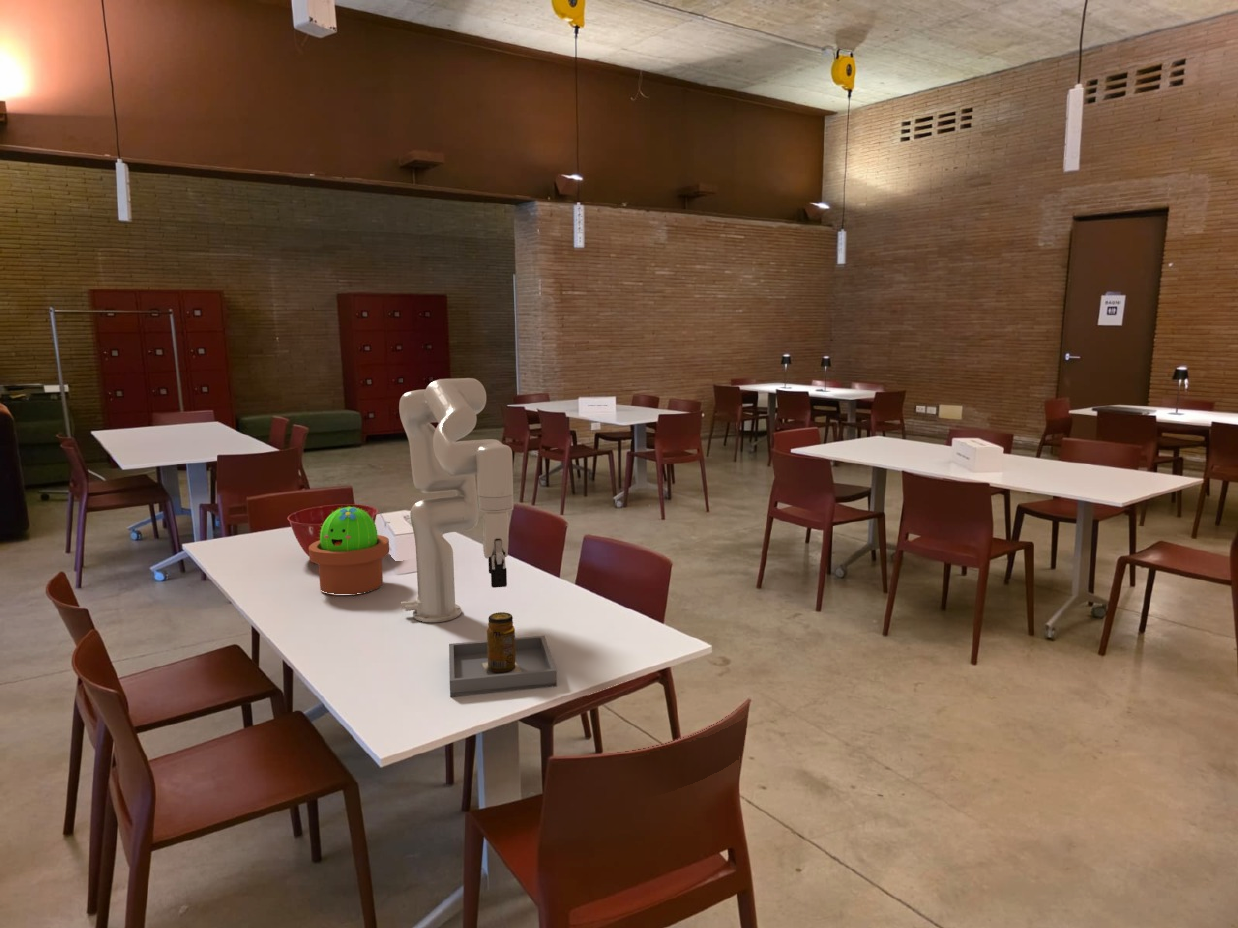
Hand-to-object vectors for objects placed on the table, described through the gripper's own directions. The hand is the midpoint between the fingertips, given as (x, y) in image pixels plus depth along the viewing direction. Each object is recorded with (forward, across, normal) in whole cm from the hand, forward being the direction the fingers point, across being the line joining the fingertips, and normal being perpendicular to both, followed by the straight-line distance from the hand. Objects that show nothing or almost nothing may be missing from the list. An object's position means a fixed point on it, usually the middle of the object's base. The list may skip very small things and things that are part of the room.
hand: (497, 579), depth 166 cm
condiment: (+20, +1, 0) cm, 20 cm away
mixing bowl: (+23, -104, -48) cm, 117 cm away
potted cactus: (+22, -70, -39) cm, 83 cm away
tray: (+21, 0, 0) cm, 21 cm away
